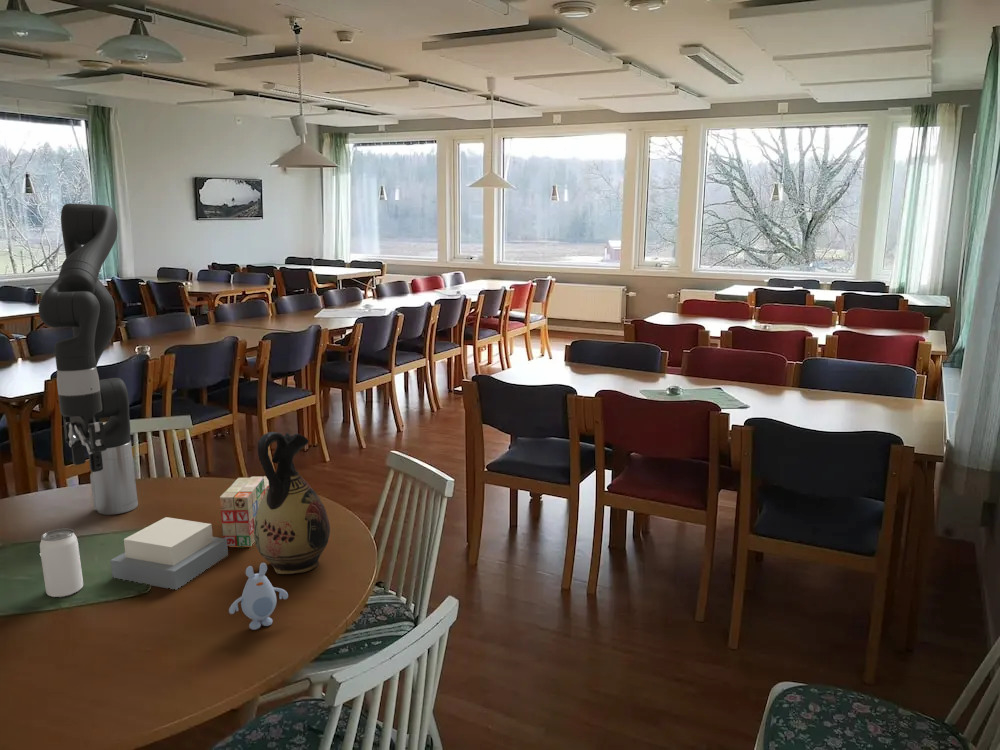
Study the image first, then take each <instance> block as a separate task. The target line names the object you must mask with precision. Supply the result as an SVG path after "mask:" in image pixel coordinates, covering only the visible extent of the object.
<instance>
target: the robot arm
mask: <svg viewBox="0 0 1000 750" xmlns="http://www.w3.org/2000/svg"><path fill="white" fill-rule="evenodd" d="M60 226H61V234H62V241H63V246H64V253H65V259H64V260H63V262H62V264H61V267H60V270H59V273H58V277H57V279H56V280H55V281H54V282H53V283H52V284H51V285H50V286H49V287H48V289H46V291H45V292H44V293H43V294H42V296H41V298H40V300H39V304H38V315H39V317H40V320H41V322H42V323H43V324H45V325H46V326H48V327H50V328H55V329H56V328H72V335H73V337H70V338H69V337H68V338H65V339H62V340H59V341H57V342H55V344H54V356H55V366H56V367H55V368H56V386H57V387H56V388H57V393H58V394H57V395H58V405H59V412H60V415H62V420H63V429H64V441H65V443H67V444H68V446H69V447H70V448H71V455H72V457H71V458H72V463H73V465H75V466H79V465H82V464H83V465H84V464H85V463H86V454H85V447H86V451H87V453H88V461H89V469H90V472H91V473H90V475H89V478H90V485H91V486H90V487H91V493H92V502H93V509H94V511H97V513H98V514H101V515H107V516H111V515H119V514H124V513H128V512H130V511H132V510H135V509H136V508H137V507H138V505H139V502H138V495H137V494H138V493H137V483H136V476H135V475H136V474H135V467H134V458H133V457H134V455H133V448H132V441H131V439H132V437H131V420H130V419H131V418H130V402H129V401H130V399H129V392H128V388H127V386H126V383H125V382H124V380H123V379H121V378H120V377H111V378H106V379H105V378H104V379H100V377H99V373H98V369H97V366H98V364H99V363H98V362H99V360H100V358H101V356H102V355H103V353H104V351H105V349H106V348H107V347H108V345H109V344H110V341H111V340H112V338H113V336H114V334H115V331H116V328H117V327H116V326H117V323H116V307H115V301H114V299H113V297H112V294H111V293H110V292H109V290H108V289H107V288H106V286H105V285H104V284H103V282H102V281H101V280H100V279H99V275H100V272H101V269H102V266H103V265H104V262H105V261H106V260H107V258H108V256H109V254H110V252H111V250H112V248H113V247H114V244H115V243H116V240H117V236H118V228H119V227H118V226H119V225H118V219H117V214H116V212H115V210H114V208H112V207H111V206H108V205H106V204H104V205H103V204H88V203H87V204H86V203H66V204H64V205H63V206H62V209H61V214H60ZM102 418H103V419H104V418H109V419H108V420H107V421H106V422H105V423H104V422H103V421H102V420H101V421H96V420H97V419H102Z"/></svg>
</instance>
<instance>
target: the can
mask: <svg viewBox="0 0 1000 750" xmlns="http://www.w3.org/2000/svg"><path fill="white" fill-rule="evenodd" d="M74 531H75V530H74V529H71V528H63V527H62V528H57V529H52V530H49V531H47V532H44V533H43V534H42V535H41V536H40V539H41V541H40V543H39V551H40V559H41V560H40V561H41V566H42V572H43V573H42V574H43V579H44V586H45V592H46V595H47V596H49V597H50V596H51V598H55V597H59V598H65V596H66V597H68V596H72V595H75V594H77V593H78V592H80V591H81V589H82V588H83V587H84V580H83V570H82V564H81V557H80V555H81V554H80V548H79V542H78V537H77V536H76V534H75V532H74ZM76 592H77V593H76ZM74 593H75V594H74Z"/></svg>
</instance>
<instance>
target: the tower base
mask: <svg viewBox="0 0 1000 750" xmlns="http://www.w3.org/2000/svg"><path fill="white" fill-rule="evenodd" d="M212 526H213V525H212V523H208V522H201V521H194V520H187V519H180V518H173V517H167V516H165V517H164V518H161V519H160V520H158V521H155V522H154V523H152V524H150V525H148V526H147V527H144V528H142V529H141V530H138V531H137V532H134V533H133V534H131V535H129V536H126V537H125V538H124V539H123V544H124V552H123V553H121V554H119V555H117V556H115V557H113V558H111V559H110V565H111V566H110V567H111V575H112V578H113V577H114V578H113V579H115V578H119V579H118V580H120V579H123V580H122V581H125V580H129V581H128V582H131V581H134V582H133V583H136V582H138V583H137V584H142V583H146V584H145V585H147V584H150V585H149V586H153V587H158V588H164V589H168V588H170V589H169V590H174V589H175V590H176V591H177V590H179V589H180V588H182V587H184V586H185V585H186V584H188V583H189V582H191V581H192V580H194V579H195V578H197V577H198V576H200V575H202V574H203V573H204V571H205V570H206V569H208V568H209V569H211V568H212V567H213V566H212V565H214V564H215V563H217V562H218V561H220V560H221V559H223V558H224V557H226V556H227V555H228V556H229V550H228V547H227V539H225V538H223V537H218V536H213V527H212ZM228 556H227V557H228ZM227 557H226V558H227ZM224 559H225V558H224ZM224 559H223V560H224ZM221 561H222V560H221ZM221 561H220V562H221ZM218 563H219V562H218ZM218 563H217V564H218ZM215 565H216V564H215ZM215 565H214V566H215ZM211 566H212V567H211ZM210 567H211V568H210ZM209 569H208V570H209ZM206 571H207V570H206ZM206 571H205V572H206ZM202 572H203V573H202ZM199 574H200V575H199ZM196 576H197V577H196ZM193 578H194V579H193ZM190 580H191V581H190ZM187 582H188V583H187ZM181 586H182V587H181ZM178 588H179V589H178ZM175 590H174V591H175Z"/></svg>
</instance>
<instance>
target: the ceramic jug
mask: <svg viewBox="0 0 1000 750" xmlns="http://www.w3.org/2000/svg"><path fill="white" fill-rule="evenodd" d="M309 441H310V440H309V439H308V438H307V437H306V436H303V435H302V434H299V433H295V434H293V435H291V434H290V433H288V432H286V433H285V434H284V435H283V433H281V432H278V431H277V432H276V431H268V432H266V433H265V434H262V436H261V437H260V438H259V440H258V443H257V455H258V460H259V462H260V464H261V466H262V469H263V471H264V474H265V475H264V476H266V478H267V479H268V481H269V487H268V489H267V490H266V493H265V495H264V496H263V498H262V500H261V502H260V505H259V507H258V510H257V512H256V517H255V523H254V539H255V543H254V545H255V547H256V549H257V550H258V552H259V554H260V556H262V557H263V558H264V559H265V560H266V561H268V563H269V564H270V565H271V566H272V567H273V569H274V571H275V573H276V574H279V575H293V574H303V573H306V572H310V571H312V570H313V569H316V568H318V567H319V566H320V563H319V559H320V557H321V555H322V553H323V552H324V551H325V549H326V548H327V546H328V542H329V538H330V535H331V534H330V533H331V526H330V525H331V524H330V519H329V517H328V512H327V511H326V507H325V505H324V503H323V502H322V500H321V499H320V497H319V495H318V494H317V493H316V492H315V490H314V489H313V488H312V486H311V485H310V483H308V481H306V479H304V478H303V476H301V475H300V473H299V472H298V471H297V470H296V466H295V464H294V462H293V460H294V457H295V456H296V455H297V453H299V452H300V451H301V449H303V448H304V447H305V446H307V445H308V444H309ZM273 443H276V445H277V446H276V449H275V451H274V453H273V457H272V458H270V455H269V448H270V446H271V445H272V444H273ZM273 464H277V467H276V471H275V468H274V465H273Z"/></svg>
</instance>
